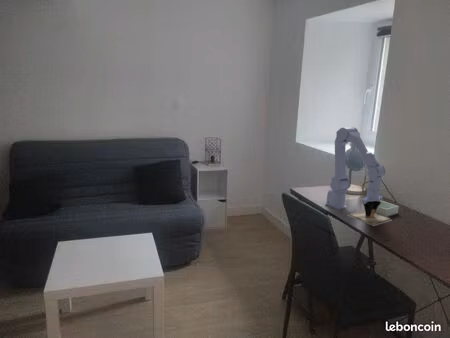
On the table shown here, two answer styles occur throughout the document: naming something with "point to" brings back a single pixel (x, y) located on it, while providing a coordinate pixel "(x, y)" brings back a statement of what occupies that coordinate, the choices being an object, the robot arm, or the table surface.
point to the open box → (387, 209)
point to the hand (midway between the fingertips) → (369, 214)
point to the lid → (370, 217)
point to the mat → (371, 224)
